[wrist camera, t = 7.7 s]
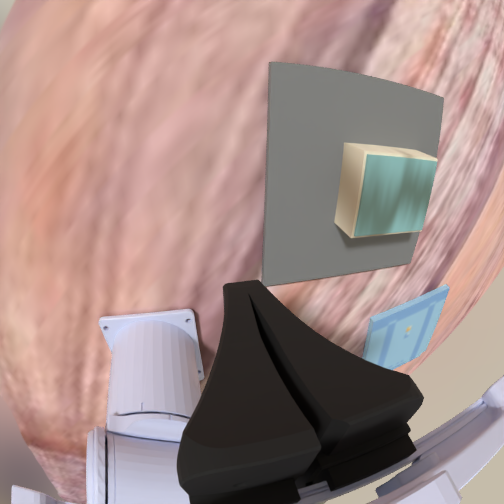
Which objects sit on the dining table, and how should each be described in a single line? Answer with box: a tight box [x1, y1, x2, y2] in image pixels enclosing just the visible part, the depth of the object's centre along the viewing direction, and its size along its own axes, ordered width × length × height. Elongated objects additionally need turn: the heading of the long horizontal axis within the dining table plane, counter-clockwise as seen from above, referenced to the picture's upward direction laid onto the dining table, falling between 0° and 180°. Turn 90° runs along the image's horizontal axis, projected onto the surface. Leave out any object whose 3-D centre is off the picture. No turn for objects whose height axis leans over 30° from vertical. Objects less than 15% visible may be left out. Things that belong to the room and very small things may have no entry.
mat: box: [261, 62, 444, 286], centre depth 20 cm, size 16×15×1 cm
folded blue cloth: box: [362, 284, 450, 370], centre depth 33 cm, size 14×12×1 cm
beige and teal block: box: [334, 143, 438, 238], centre depth 19 cm, size 6×3×7 cm
